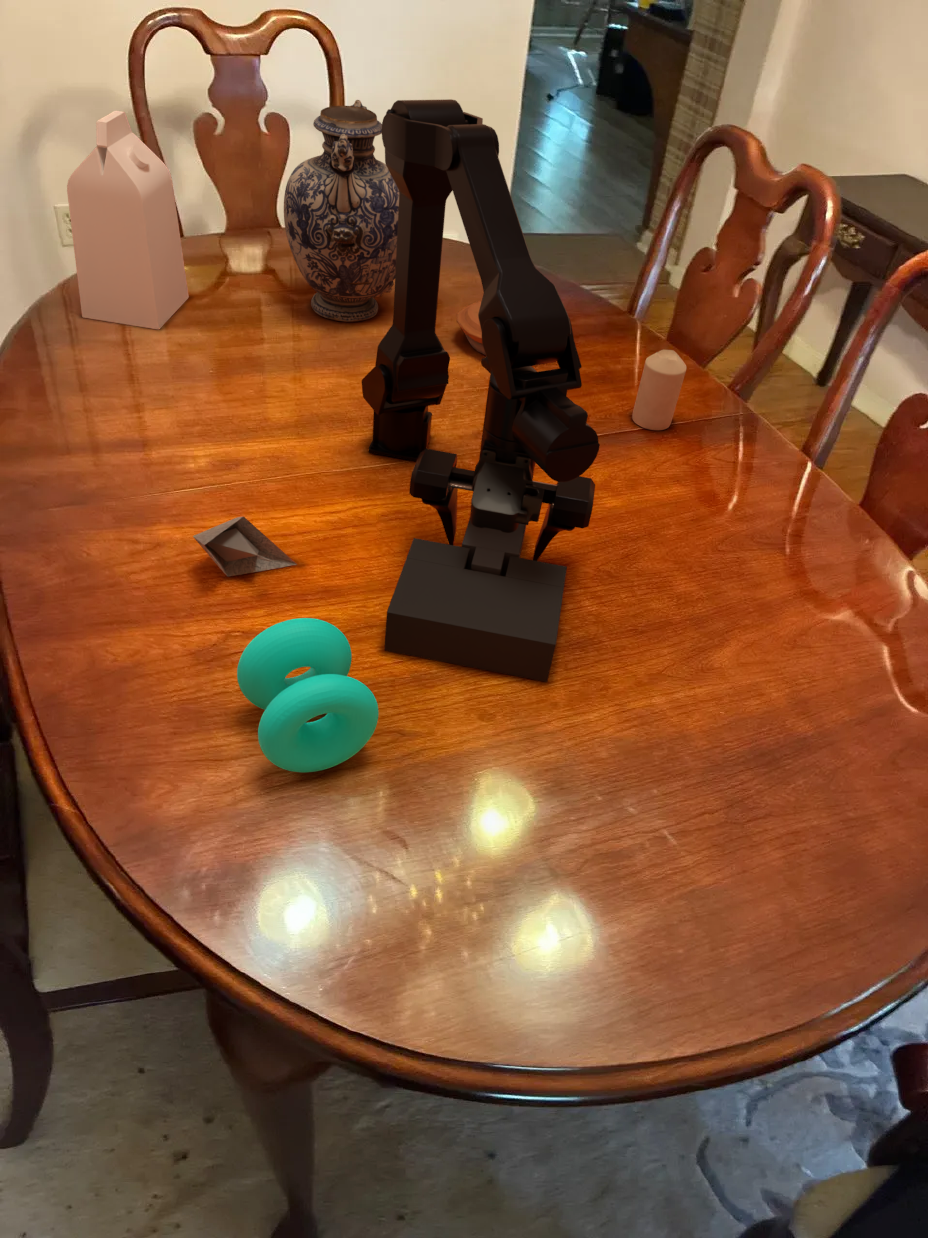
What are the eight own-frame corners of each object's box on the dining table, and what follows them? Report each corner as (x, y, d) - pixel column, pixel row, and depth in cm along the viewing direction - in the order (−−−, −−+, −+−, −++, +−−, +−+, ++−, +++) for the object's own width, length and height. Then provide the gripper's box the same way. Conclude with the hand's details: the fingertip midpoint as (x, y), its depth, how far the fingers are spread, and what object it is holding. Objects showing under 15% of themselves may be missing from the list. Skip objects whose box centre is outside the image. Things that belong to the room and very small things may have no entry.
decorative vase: (400, 344, 139) (412, 141, 120) (275, 331, 138) (268, 125, 119) (408, 287, 155) (420, 101, 136) (296, 275, 153) (293, 85, 135)
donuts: (265, 792, 76) (260, 710, 69) (237, 706, 82) (229, 624, 76) (380, 761, 79) (386, 680, 73) (344, 681, 86) (346, 600, 79)
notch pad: (384, 650, 89) (386, 612, 86) (410, 575, 98) (413, 537, 95) (547, 682, 88) (555, 644, 85) (558, 603, 97) (567, 566, 94)
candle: (669, 433, 127) (689, 366, 120) (630, 426, 127) (647, 358, 120) (671, 414, 131) (689, 348, 124) (632, 407, 131) (649, 341, 125)
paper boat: (269, 519, 101) (324, 538, 96) (254, 576, 102) (308, 598, 96) (175, 498, 92) (231, 519, 86) (160, 561, 92) (214, 585, 87)
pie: (571, 343, 145) (577, 313, 141) (523, 378, 134) (528, 346, 131) (488, 313, 150) (492, 282, 147) (435, 344, 140) (438, 312, 136)
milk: (116, 285, 144) (88, 99, 126) (188, 297, 143) (170, 111, 126) (82, 317, 135) (46, 120, 117) (159, 329, 134) (135, 134, 117)
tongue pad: (452, 598, 96) (456, 561, 93) (472, 527, 106) (477, 491, 103) (508, 609, 96) (515, 572, 92) (524, 536, 106) (530, 500, 102)
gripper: (401, 451, 85) (393, 581, 96) (601, 487, 84) (570, 615, 95) (426, 395, 94) (415, 520, 104) (607, 428, 93) (579, 551, 103)
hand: (493, 551), depth 101 cm, fingers open, 9 cm apart
